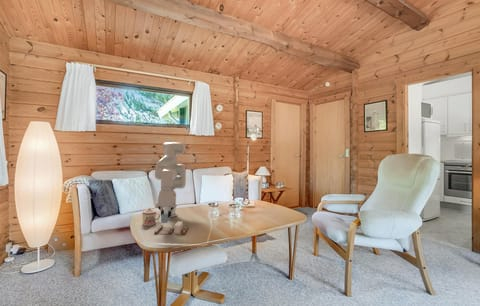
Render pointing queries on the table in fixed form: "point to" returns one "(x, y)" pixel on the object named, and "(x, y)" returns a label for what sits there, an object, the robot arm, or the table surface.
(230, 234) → the table surface
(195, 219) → the table surface
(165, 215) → the blue stub
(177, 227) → the ivory stub
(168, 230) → the slot rack
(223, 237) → the table surface
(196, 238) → the table surface
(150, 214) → the teacup with lid
